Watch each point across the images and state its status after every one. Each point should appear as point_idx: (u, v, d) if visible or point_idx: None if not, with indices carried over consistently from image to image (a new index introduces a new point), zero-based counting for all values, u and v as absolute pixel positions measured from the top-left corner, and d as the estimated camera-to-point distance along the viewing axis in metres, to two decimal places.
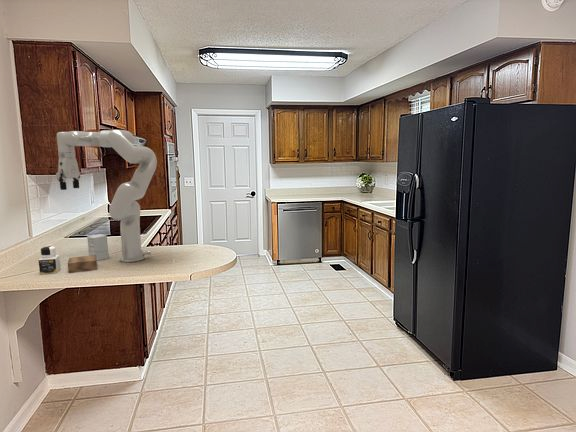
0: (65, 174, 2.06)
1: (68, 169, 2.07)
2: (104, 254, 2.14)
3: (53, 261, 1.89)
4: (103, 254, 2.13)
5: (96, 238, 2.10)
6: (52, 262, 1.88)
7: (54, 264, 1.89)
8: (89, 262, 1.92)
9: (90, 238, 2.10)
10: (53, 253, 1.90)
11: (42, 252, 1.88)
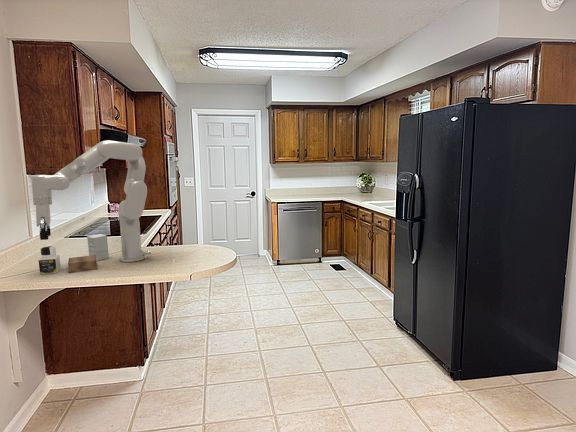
0: None
1: None
2: (104, 254, 2.14)
3: (53, 261, 1.89)
4: (103, 254, 2.13)
5: (96, 238, 2.10)
6: (52, 262, 1.88)
7: (54, 264, 1.89)
8: (89, 262, 1.93)
9: (90, 238, 2.10)
10: (53, 253, 1.90)
11: (42, 252, 1.88)
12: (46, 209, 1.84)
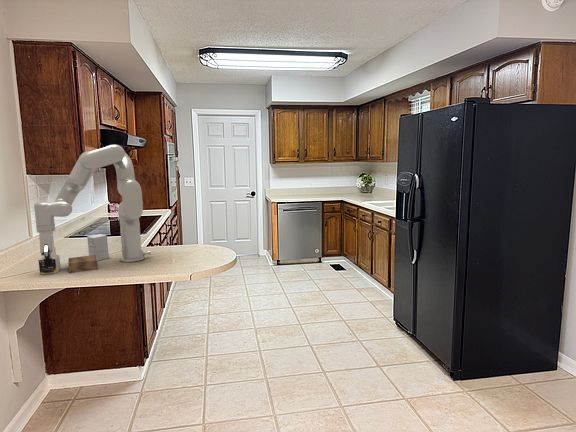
0: None
1: None
2: (104, 254, 2.14)
3: (53, 261, 1.89)
4: (103, 254, 2.13)
5: (96, 238, 2.10)
6: (52, 262, 1.88)
7: (54, 264, 1.89)
8: (90, 262, 1.93)
9: (90, 238, 2.10)
10: (53, 252, 1.90)
11: None
12: (49, 236, 1.86)
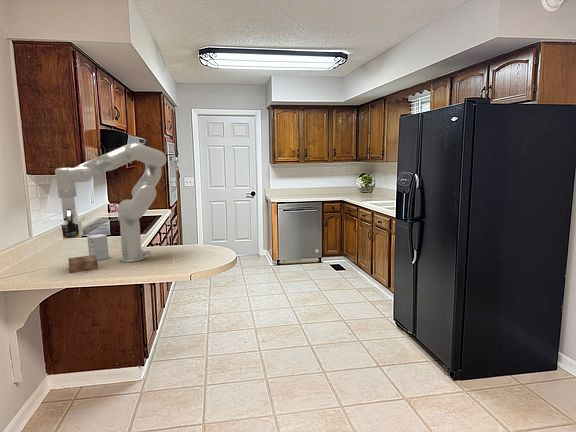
0: None
1: None
2: (104, 254, 2.14)
3: (75, 226, 1.90)
4: (103, 254, 2.13)
5: (96, 238, 2.10)
6: None
7: (77, 229, 1.91)
8: (90, 262, 1.93)
9: (90, 238, 2.10)
10: (75, 218, 1.91)
11: None
12: (71, 201, 1.88)
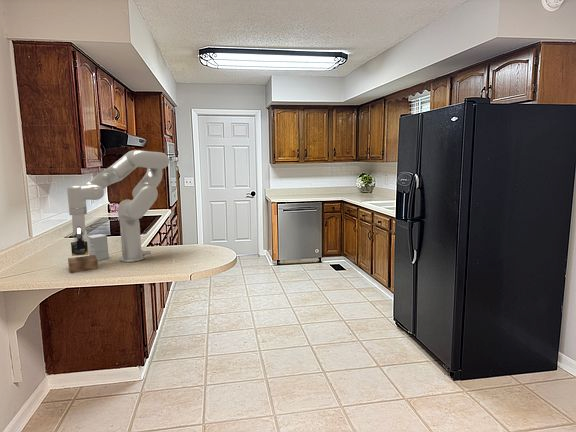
0: None
1: None
2: (104, 254, 2.14)
3: (85, 243, 1.92)
4: (103, 254, 2.13)
5: (96, 238, 2.10)
6: None
7: (86, 246, 1.93)
8: (90, 262, 1.93)
9: (90, 238, 2.10)
10: (84, 235, 1.93)
11: None
12: (82, 219, 1.90)
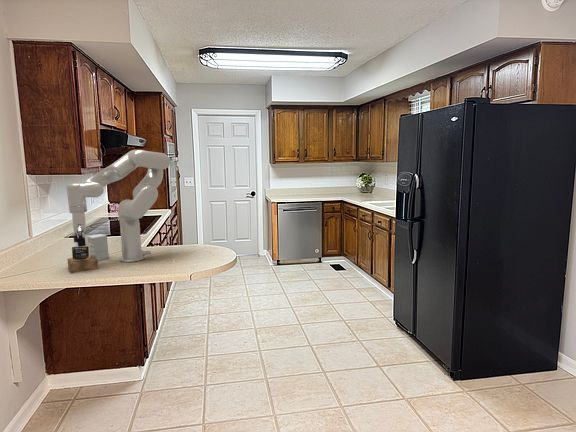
0: None
1: None
2: (104, 254, 2.14)
3: (86, 248, 1.93)
4: (103, 254, 2.13)
5: (96, 238, 2.10)
6: (85, 249, 1.93)
7: (87, 251, 1.94)
8: (91, 262, 1.93)
9: (90, 238, 2.10)
10: (86, 240, 1.94)
11: (76, 239, 1.92)
12: (82, 216, 1.90)
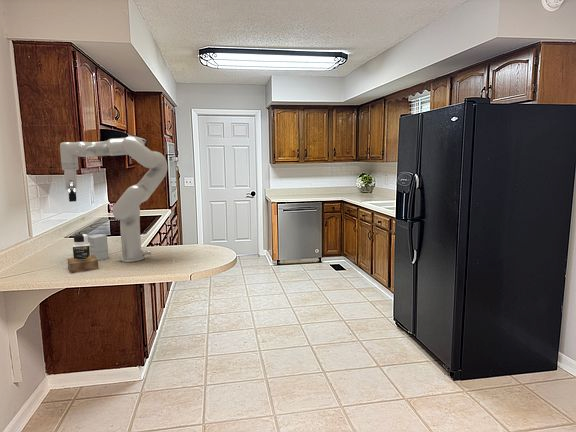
0: None
1: None
2: (104, 254, 2.14)
3: (87, 248, 1.94)
4: (103, 254, 2.13)
5: (96, 238, 2.10)
6: (86, 248, 1.94)
7: (88, 251, 1.94)
8: (91, 262, 1.93)
9: (90, 238, 2.10)
10: (86, 240, 1.95)
11: (76, 239, 1.93)
12: (74, 173, 2.02)
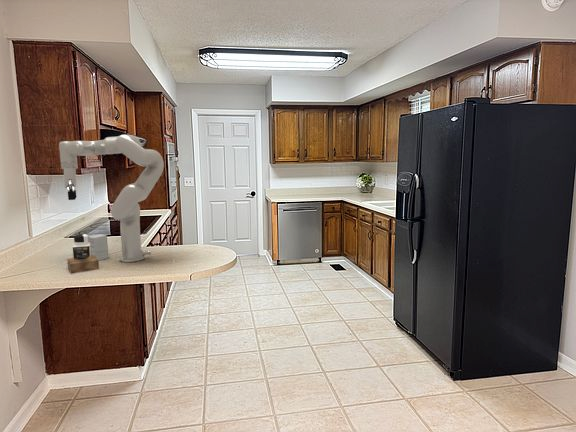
0: None
1: None
2: (104, 254, 2.14)
3: (87, 248, 1.94)
4: (103, 254, 2.13)
5: (96, 238, 2.10)
6: (86, 249, 1.94)
7: (88, 251, 1.94)
8: (91, 262, 1.93)
9: (90, 238, 2.10)
10: (86, 240, 1.95)
11: (76, 239, 1.92)
12: (73, 172, 2.05)
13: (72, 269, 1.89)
